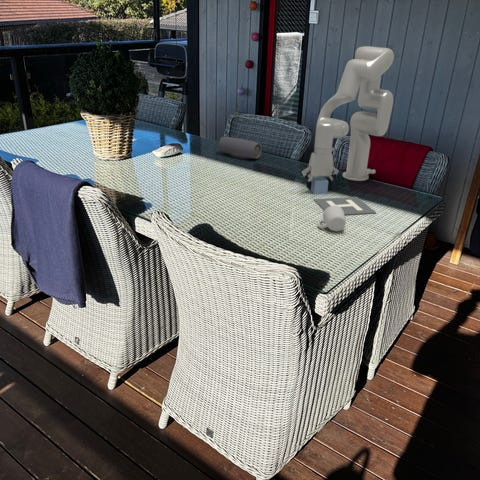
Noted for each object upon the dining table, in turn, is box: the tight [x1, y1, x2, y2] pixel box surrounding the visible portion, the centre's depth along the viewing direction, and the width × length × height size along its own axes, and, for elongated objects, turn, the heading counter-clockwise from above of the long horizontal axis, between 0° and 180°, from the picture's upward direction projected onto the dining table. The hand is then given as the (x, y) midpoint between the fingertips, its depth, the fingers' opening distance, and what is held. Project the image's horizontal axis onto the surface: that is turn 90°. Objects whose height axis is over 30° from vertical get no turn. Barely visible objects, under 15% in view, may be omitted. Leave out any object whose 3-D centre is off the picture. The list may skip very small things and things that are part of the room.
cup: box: [317, 206, 347, 232], centre depth 180 cm, size 11×8×8 cm
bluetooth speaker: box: [217, 136, 263, 160], centre depth 262 cm, size 23×9×10 cm, turn 58°
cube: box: [310, 177, 329, 195], centre depth 216 cm, size 6×6×6 cm
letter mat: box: [313, 196, 377, 217], centre depth 202 cm, size 20×18×1 cm
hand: (318, 188), depth 217 cm, fingers open, 8 cm apart
